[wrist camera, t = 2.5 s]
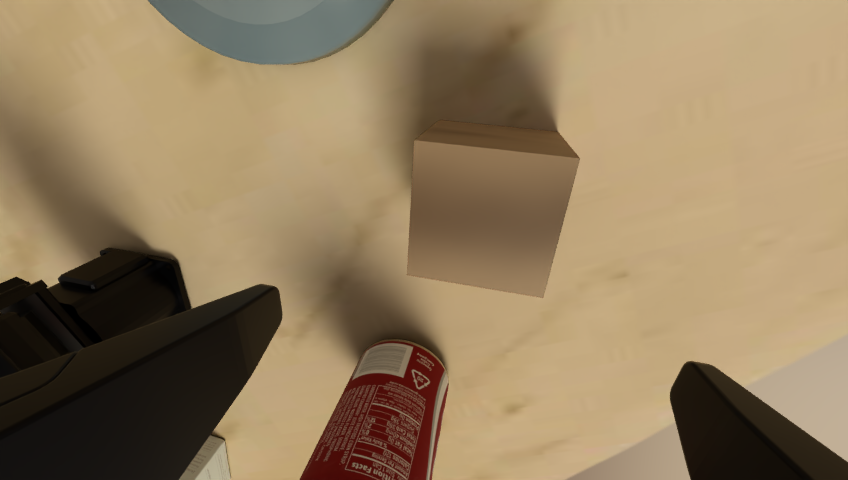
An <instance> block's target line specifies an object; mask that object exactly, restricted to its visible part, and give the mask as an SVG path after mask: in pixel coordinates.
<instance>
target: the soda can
mask: <svg viewBox="0 0 848 480" xmlns="http://www.w3.org/2000/svg"><path fill="white" fill-rule="evenodd" d="M448 385H449V380H448V374H447V371H446V369H445V367H444V365H443V364H442V362H441V361H440V360H439V359H438V358H437V356H435V355H434V354H433V353H432V352H431V351H429V350H428V349H426V348H425V347H423V346H421V345H419V344H416V343H414V342H411V341H407V340H401V339H388V340H382V341H379V342H376V343H374V344H372V345H371V346H369V347H368V348H367V349H366V350H365V351H364V353H363V354H362V356H361V358H360V360H359V362H358V364H357V366H356V368H355V370H354V372H353V374H352V376H351V378H350V380H349V382H348V384H347V386H346V388H345V390H344V392H343V394H342V396H341V398H340V400H339V402H338V404H337V406H336V408H335V410H334V412H333V414H332V416H331V418H330V420H329V422H328V424H327V426H326V428H325V430H324V432H323V434H322V436H321V438H320V440H319V442H318V444H317V446H316V448H315V450H314V452H313V454H312V456H311V458H310V460H309V462H308V464H307V466H306V468H305V470H304V472H303V474H302V476H301V478H300V480H432V475H433V469H434V463H435V458H436V452H437V447H438V441H439V436H440V430H441V424H442V419H443V413H444V408H445V402H446V397H447V391H448Z"/></svg>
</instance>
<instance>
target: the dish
mask: <svg viewBox="0 0 848 480" xmlns="http://www.w3.org/2000/svg"><path fill="white" fill-rule="evenodd" d="M148 1H149V2H150V3H151V4H152V5H153V6H154V7H155V8H156V9H157V10H158V11H159V12H160V13H161V14H162V15H163V16H164V17H165V18H166V19H167V20H168V21H169V22H170V23H172V24H173V25H174V26H175V27H177V28H178V29H179V30H180V31H182V32H183V33H184V34H185V35H187V36H188V37H190V38H192V39H193V40H195V41H196V42H198V43H199V44H201V45H203V46H204V47H206V48H209V49H211V50H213V51H215V52H217V53H219V54H221V55H224V56H227V57H230V58H233V59H236V60H239V61H244V62H250V63H256V64H283V65H296V64H302V63H308V62H314V61H317V60H320V59H323V58H326V57H328V56H331V55H333V54H335V53H337V52H339V51H341V50H342V49H344V48H346V47H348V46H349V45H351V44H352V43H353V42H355V41H356V40H357V39H359V38H360V37H361V36H363V35H364V34H365V33H366V32H367V31H368V30H369V29H370V28H371V27H372V26H373V25H374V24H375V23H376V22H377V21H378V20H379V19H380V18H381V16H382V15H383V14H384V12H385V11H386V10H387V8H388V7H389V6H390V4H391V3H392V2H393V1H394V0H148Z"/></svg>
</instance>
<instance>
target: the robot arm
mask: <svg viewBox="0 0 848 480" xmlns="http://www.w3.org/2000/svg"><path fill="white" fill-rule="evenodd" d="M100 255H101V256H100V257H98V258H96V259H94V260H92V261H90V262H88V263H85V264H83V265H81V266H79V267H77V268H75V269H73V270H70V271H68V272H66V273H64V274H62V275H61V276H60V277H59V278H58V281H59V283H58V284H56V285H54V286H52V287H49V288H46V287H48V286H47V285H46V284H45V283H44V281H43V280H40V281H37V282H35V283H32V284H30V283H29V282H27V281H25V280H22V279H20V278H18V277H15V278H12V279H10V280H8V281H5V282H3V283H1V284H0V312H1V313H2V314H3V315H1V316H0V480H179V479H180V478H181V476H182V475H183V473H184V472H185V470H186V469H187V468H188V466H189V465H190V463H191V462H192V460H193V459H194V458H195V456H196V455H197V453H198V452H199V450H200V449H201V448H202V446H203V445H204V443H205V442H206V440H207V439H208V437H209V436H210V435H211V433H212V432H213V430H214V429H215V427H216V426H217V425H218V423H219V422H220V420H221V419H222V417H223V416H224V415H225V413H226V412H227V410H228V409H229V407H230V406H231V405H232V403H233V402H234V400H235V399H236V397H237V396H238V395H239V393H240V392H241V390H242V389H243V387H244V386H245V384H246V383H247V381H248V380H249V378H250V377H251V375H252V373H253V372H254V370H255V368H256V366H257V365H258V363H259V361H260V359H261V358H262V356H263V354H264V352H265V350H266V349H267V347H268V345H269V343H270V341H271V340H272V338H273V336H274V334H275V333H276V331H277V329H278V327H279V325H280V323H281V321H282V307H281V300H280V293H279V290H278V288H277V287H275V286H271V285H265V284H259V285H256V286H253V287H250V288H248V289H245V290H242V291H239V292H237V293H234V294H231V295H228V296H226V297H223V298H220V299H217V300H215V301H212V302H209V303H206V304H204V305H201V306H198V307H196V308H193V309H190V305H189V302H188V298H187V294H186V291H185V287H184V284H183V280H182V276H181V273H180V269H179V266H178V264H177V262H176V261H174V260H172V259H168V258H162V257H157V256H151V255H146V254H141V253H136V252H130V251H125V250H119V249H113V248H106V249H103V250H101V251H100ZM670 401H671V406H672V410H673V414H674V417H675V421H676V425H677V429H678V433H679V437H680V441H681V445H682V449H683V453H684V457H685V461H686V465H687V468H688V472H689V475H690V479H691V480H848V462H847V461H845V460H844V459H842V458H841V457H840V456H838V455H837V454H836V453H834V452H832V451H831V450H830V449H829V448H827V447H826V446H824V445H823V444H822V443H820V442H819V441H817V440H816V439H815V438H813V437H812V436H810V435H809V434H808V433H806V432H805V431H804V430H802V429H801V428H799V427H798V426H796V425H795V424H794V423H792V422H791V421H789V420H788V419H787V418H785V417H784V416H782V415H781V414H780V413H778V412H777V411H775V410H774V409H773V408H771V407H770V406H769V405H767V404H766V403H764V402H763V401H762V400H760V399H759V398H758V397H756V396H755V395H753V394H752V393H751V392H749V391H748V390H746V389H745V388H744V387H742V386H741V385H739V384H738V383H737V382H735V381H734V380H732V379H731V378H730V377H728V376H727V375H725V374H724V373H723V372H721V371H720V370H718V369H717V368H716V367H714V366H712V365H710V364H705V363H700V362H694V361H688V362H686V363H685V364H684V365H683V367H682V369H681V371H680V372H679V374H678V376H677V378H676V380H675V382H674V384H673V386H672V388H671V391H670Z"/></svg>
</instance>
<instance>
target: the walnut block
mask: <svg viewBox="0 0 848 480" xmlns="http://www.w3.org/2000/svg"><path fill="white" fill-rule="evenodd" d="M579 160H580V158H579V157H578V155H577V154H576V153H575V152H574V151H573V149H572V148H571V147H570V146H569V145H568V143H567V142H566V141H565V140H564V138H563V137H562V136H561V135H560V134H559V132H555V131H545V130H535V129H525V128H515V127H505V126H495V125H485V124H475V123H465V122H455V121H445V120H439V121H438V122H436V123H435V124H434V125H433V126H431V127H430V128H429V129H428V130H426V131H425V132H424V133H423V134H421V135H420V136H419V137H418V138H416V139H415V140H414V154H413V173H412V191H411V210H410V228H409V246H408V265H407V275H409V276H415V277H421V278H427V279H433V280H439V281H445V282H451V283H457V284H463V285H469V286H475V287H481V288H486V289H492V290H498V291H504V292H510V293H516V294H522V295H528V296H534V297H540V298H543V297H544V293H545V289H546V285H547V282H548V278H549V274H550V270H551V266H552V263H553V259H554V255H555V251H556V248H557V244H558V240H559V236H560V232H561V229H562V225H563V221H564V217H565V213H566V210H567V206H568V202H569V198H570V194H571V191H572V187H573V183H574V179H575V175H576V172H577V168H578V164H579Z"/></svg>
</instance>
